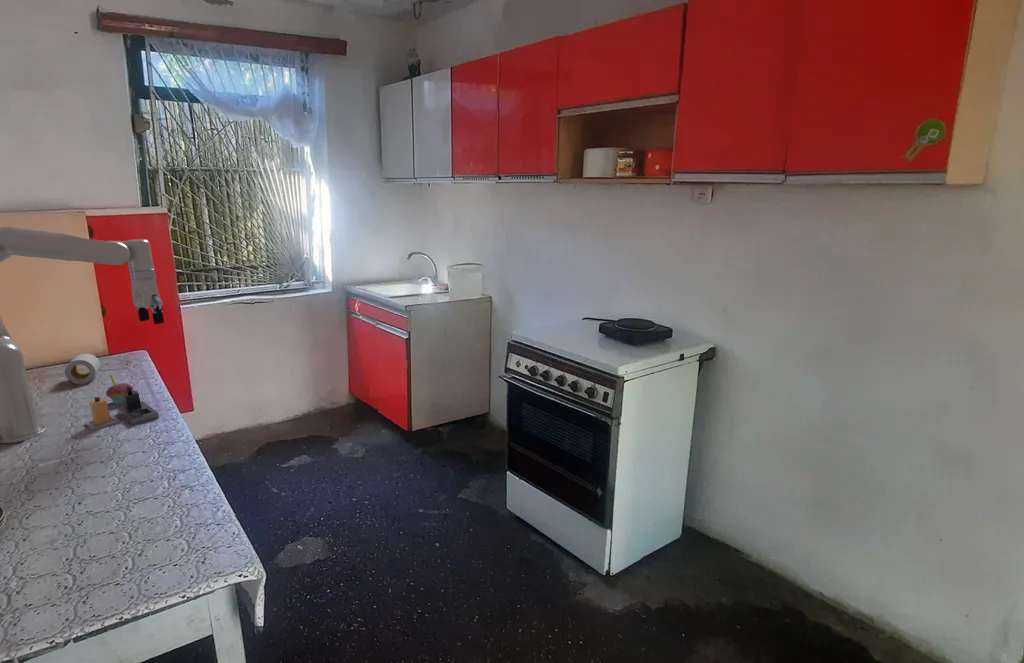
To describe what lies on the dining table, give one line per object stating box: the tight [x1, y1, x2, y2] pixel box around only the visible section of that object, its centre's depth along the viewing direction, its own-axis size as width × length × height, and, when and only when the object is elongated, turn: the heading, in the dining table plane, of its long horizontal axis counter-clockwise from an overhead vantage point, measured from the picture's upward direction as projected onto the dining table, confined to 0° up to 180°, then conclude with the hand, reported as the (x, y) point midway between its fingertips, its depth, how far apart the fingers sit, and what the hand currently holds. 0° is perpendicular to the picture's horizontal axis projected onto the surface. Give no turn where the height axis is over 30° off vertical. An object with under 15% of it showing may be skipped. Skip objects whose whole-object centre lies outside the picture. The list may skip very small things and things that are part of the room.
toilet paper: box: [64, 353, 101, 385], centre depth 239 cm, size 10×10×10 cm
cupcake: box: [105, 373, 135, 405], centre depth 213 cm, size 9×8×12 cm
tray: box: [84, 414, 121, 431], centre depth 195 cm, size 8×8×1 cm
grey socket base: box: [116, 386, 160, 426], centre depth 200 cm, size 16×8×10 cm, turn 48°
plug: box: [88, 396, 111, 426], centre depth 194 cm, size 4×4×9 cm
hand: (151, 322), depth 210 cm, fingers open, 9 cm apart
